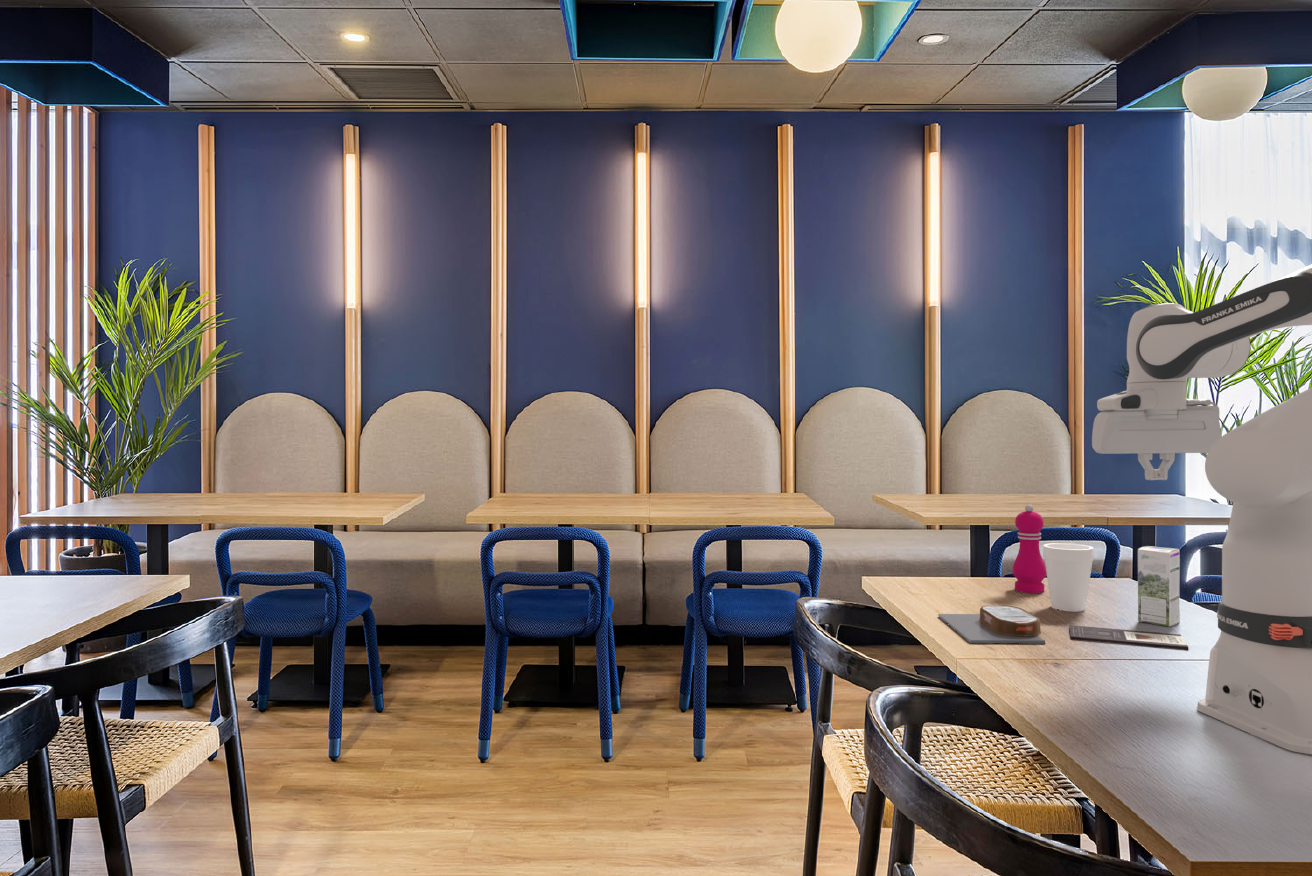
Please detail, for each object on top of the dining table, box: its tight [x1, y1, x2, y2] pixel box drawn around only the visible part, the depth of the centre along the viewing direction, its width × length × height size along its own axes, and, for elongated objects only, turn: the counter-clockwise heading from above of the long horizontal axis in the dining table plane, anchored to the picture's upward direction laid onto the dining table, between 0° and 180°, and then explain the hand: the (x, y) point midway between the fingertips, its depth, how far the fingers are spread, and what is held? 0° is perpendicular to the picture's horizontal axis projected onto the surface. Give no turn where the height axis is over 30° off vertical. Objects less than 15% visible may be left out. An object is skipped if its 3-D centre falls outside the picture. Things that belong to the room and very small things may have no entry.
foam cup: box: [1042, 542, 1095, 613], centre depth 172 cm, size 10×9×13 cm
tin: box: [979, 604, 1042, 637], centre depth 155 cm, size 15×3×8 cm
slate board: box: [937, 613, 1046, 645], centre depth 156 cm, size 20×13×1 cm, turn 177°
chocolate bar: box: [1068, 624, 1189, 651], centre depth 148 cm, size 9×1×18 cm
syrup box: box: [1137, 545, 1181, 627], centre depth 160 cm, size 6×6×14 cm
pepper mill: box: [1011, 504, 1047, 594], centre depth 190 cm, size 7×7×20 cm
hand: (1156, 479), depth 142 cm, fingers closed
